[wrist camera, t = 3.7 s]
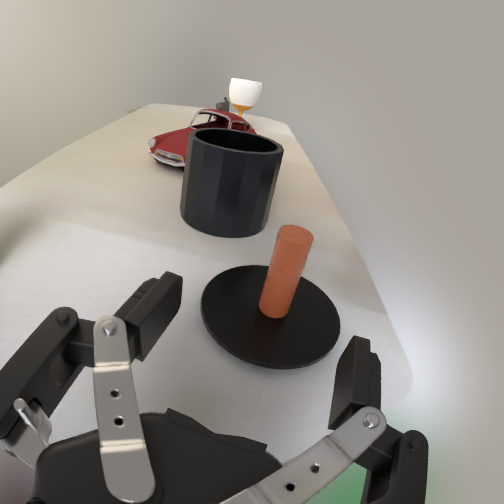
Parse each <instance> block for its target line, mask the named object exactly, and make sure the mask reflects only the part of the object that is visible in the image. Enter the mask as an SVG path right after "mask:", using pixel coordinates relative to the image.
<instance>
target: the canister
mask: <svg viewBox="0 0 504 504" xmlns="http://www.w3.org/2000/svg"><path fill="white" fill-rule="evenodd" d="M283 152H284V149H283V147H282V145H280V144H278V143H277V142H275V141H274V140H271V139H269V138H266V137H263V136H260V135H257V134H253V133H249V132H245V131H239V130H233V129H224V128H200V129H197V130H193V131H191V132H190V134H189V136H188V144H187V151H186V159H185V168H184V176H183V185H182V195H181V204H180V210H181V216H182V218H183V220H184V221H185V222H186V223H187V224H188V225H190V226H191V227H193V228H195V229H197V230H199V231H201V232H204V233H207V234H210V235H214V236H219V237H227V238H241V237H248V236H252V235H255V234H257V233H259V232H260V231H261V230H262V229H263V228H264V226H265V223H266V222H267V218H268V214H269V210H270V206H271V202H272V198H273V194H274V189H275V185H276V181H277V177H278V173H279V169H280V165H281V160H282V156H283Z"/></svg>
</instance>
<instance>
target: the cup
mask: <svg viewBox="0 0 504 504" xmlns="http://www.w3.org/2000/svg"><path fill="white" fill-rule="evenodd" d="M261 91H262V83H260V82H255V81H250V80H244V79H238V78H232V79H231V83H230V87H229V95H230V100H231V103H232V104H233V106H234V107H235V108H236V109H238V110H239V117H241V116H242V112H243V111H245V110H248V109H250V108H252V107H253V106H254V105H255V104H256V103H257V101H258V99H259V97H260V95H261ZM238 123H239V122H238Z"/></svg>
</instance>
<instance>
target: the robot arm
mask: <svg viewBox="0 0 504 504" xmlns="http://www.w3.org/2000/svg"><path fill="white" fill-rule="evenodd" d="M182 284H183V278H182V276H179V275H176V274H174V273H171V272H169V271H166V272H165V273H164V274H163V275H162V276H161V278H160V279H159V280H158V279H156V278H152V279H150V280H147V281H145V282H144V283H143V284H142V285H141V286H140V287H139V288H138V289H137V290H136V291H135V292H134V293H133V294H132V296H131V297H130V298H129V299H128V300H127V301H126V302H125V303H124V304H123V305H122V306H121V308H120V309H119V310H118V311H117V312H116V313H115V314H114V315H113V316H105V317H102V318H100V319H99V320H97V321H90V320H84V319H79V318H78V314H77V312H76V311H75V310H74V309H72V308H70V307H60V308H57V309H55V310H54V311H52V312H51V313H50V315H49V316H48V317H47V318H46V319H45V320H44V321H43V322H42V323H41V324H40V325H39V326H38V328H37V329H36V330H35V331H34V332H33V333H32V334H31V335H30V336H29V338H28V339H27V340H26V341H25V342H24V343H23V344H22V346H21V347H20V348H19V349H18V350H17V351H16V353H15V354H14V355H13V356H12V357H11V358H10V360H9V361H8V362H7V363H6V364H5V366H4V367H3V368H2V369H1V371H0V447H1V448H2V449H4V450H5V451H6V452H7V453H8V454H10V455H11V456H14V457H19V458H20V459H21V460H23V461H24V462H25V463H26V464H28V465H29V466H31V467H32V468H33V469H35V481H34V488H33V492H32V495H31V497H30V499H29V501H28V502H27V503H26V504H304V503H305V502H307V501H308V500H309V499H311V498H312V497H313V496H315V495H316V494H317V493H318V492H320V491H321V490H322V489H323V488H325V487H326V486H327V485H328V484H330V483H331V482H332V481H333V480H334V479H336V478H337V477H338V476H339V475H340V474H341V473H343V472H344V471H345V470H346V469H347V468H348V467H349V466H350V465H351V464H352V463H353V462H355V463H357V464H359V465H360V466H362V467H364V468H366V469H367V473H366V478H365V483H364V489H363V493H362V498H361V503H360V504H425V495H426V484H427V469H428V442H427V439H426V437H425V436H424V435H423V434H422V433H420V432H419V431H416V430H410V431H407V432H406V433H404V434H403V433H401V432H399V431H397V430H396V429H394V428H392V427H390V426H389V425H388V424H387V421H386V418H385V416H384V414H383V413H382V412H381V382H380V381H381V375H380V374H381V363H380V360H379V358H378V356H377V354H376V353H372V352H370V340H369V339H365V338H362V337H359V336H355V335H354V336H353V337H352V339H351V340H350V342H349V344H348V345H347V347H346V349H345V350H344V352H343V354H342V355H341V357H340V359H339V361H338V364H337V368H336V376H335V383H334V391H333V398H332V405H331V411H330V418H329V424H328V429H331V430H335V431H334V432H332V433H331V434H330V435H327V436H325V437H324V438H323V439H321V440H320V441H319V442H317V443H316V444H315V445H313V446H312V447H311V448H309V449H308V450H306V451H305V452H304V453H302V454H301V455H299V456H298V457H297V458H295V459H294V460H292V461H291V462H289V463H288V464H286V465H285V466H283V465H282V464H281V463H280V462H279V461H278V460H277V459H276V458H275V457H274V456H273V455H271V454H270V453H268V452H267V451H266V448H267V444H264V443H260V442H257V441H254V440H251V439H248V438H245V437H240V436H231V435H223V434H216V433H213V432H212V431H210V430H209V429H207V428H206V427H204V426H203V425H201V424H200V423H198V422H197V421H195V420H194V419H193V418H191V417H188V416H186V415H184V414H181V413H179V412H177V411H174V410H172V409H170V408H168V409H167V411H166V413H165V414H164V413H157V412H149V413H142V414H139V409H138V404H137V399H136V393H135V388H134V382H133V376H132V369H131V363H132V362H133V361H134V359H138V360H140V361H142V362H143V361H144V359H145V358H146V356H147V355H148V353H149V352H150V351H151V349H152V348H153V346H154V345H155V343H156V342H157V341H158V339H159V338H160V336H161V335H162V334H163V332H164V331H165V329H166V328H167V326H168V325H169V324H170V322H171V321H172V319H173V318H174V317H175V315H176V314H177V312H178V310H179V308H180V304H181V296H182ZM85 366H87V367H92V368H93V383H94V395H95V406H96V415H97V424H98V429H96V430H93V431H90V432H87V433H84V434H81V435H78V436H75V437H71V438H68V439H65V440H61V441H58V442H55V443H52V444H50V445H49V443H48V441H49V436H50V434H51V431H52V425H51V422H50V420H49V417H50V416H51V414H52V413H53V411H54V410H55V408H56V407H57V405H58V404H59V402H60V401H61V400H62V398H63V397H64V395H65V394H66V392H67V391H68V389H69V388H70V386H71V385H72V384H73V382H74V381H75V379H76V378H77V376H78V375H79V374H80V372H81V371H82V369H83V368H84V367H85Z"/></svg>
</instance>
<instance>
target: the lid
mask: <svg viewBox="0 0 504 504" xmlns="http://www.w3.org/2000/svg"><path fill="white" fill-rule="evenodd" d="M312 242H313V236H312V234H311V233H310V232H309V231H307V230H306V229H304V228H301V227H299V226H294V225H285V226H282V227H281V228H280V229H279V233H278V236H277V240H276V244H275V247H274V251H273V255H272V258H271V262H270V265H269V266H261V265H248V266H240V267H235V268H231V269H229V270H226V271H224V272H222V273H220V274H218V275H217V276H215V277H214V278H213V279H212V280H211V281H210V282H209V283H208V284H207V286H206V287H205V289H204V291H203V294H202V298H201V315H202V319H203V322H204V324H205V326H206V328H207V330H208V332H209V333H210V334H211V336H212V337H213V338H214V339H215V340H216V341H217V343H218V344H219V345H221V346H222V347H223V348H224V349H225V350H227V351H228V352H230V353H231V354H233V355H234V356H236V357H238V358H240V359H242V360H244V361H246V362H249V363H252V364H255V365H258V366H262V367H266V368H273V369H295V368H301V367H305V366H308V365H311V364H313V363H316V362H317V361H319V360H321V359H323V358H324V357H325V356H326V355H327V354H329V352H330V351H331V350H332V349H333V347H334V345H335V344H336V342H337V340H338V337H339V334H340V319H339V315H338V312H337V310H336V308H335V306H334V304H333V303H332V301H331V300H330V299H329V297H328V296H327V295H326V294H325V293H324V292H323V291H322V290H321V289H320V288H319V287H317V286H316V285H315V284H313V283H312V282H310V281H308V280H307V279H305V278H303V277H301V274H302V271H303V268H304V265H305V262H306V260H307V257H308V254H309V251H310V248H311V245H312Z"/></svg>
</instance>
